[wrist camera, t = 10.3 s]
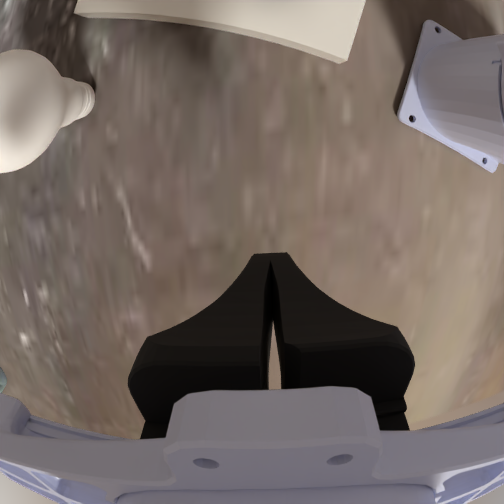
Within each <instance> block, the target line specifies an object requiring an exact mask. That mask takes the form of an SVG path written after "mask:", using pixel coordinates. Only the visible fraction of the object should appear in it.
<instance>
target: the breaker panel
mask: <svg viewBox="0 0 504 504" xmlns="http://www.w3.org/2000/svg"><path fill="white" fill-rule="evenodd" d="M365 1H366V0H78V2H77V4H76V7H75V10H74V13H75V14H78V15H81V16H84V17H87V18H121V19H140V20H153V21H163V22H172V23H180V24H187V25H194V26H200V27H206V28H212V29H217V30H223V31H228V32H232V33H237V34H242V35H246V36H250V37H254V38H258V39H262V40H266V41H270V42H274V43H277V44H281V45H284V46H288V47H291V48H294V49H297V50H301V51H304V52H307V53H310V54H313V55H316V56H319V57H321V58H324V59H327V60H330V61H333V62H335V63H338V64H340V63H342V62H345V61H347V59H348V56H349V53H350V50H351V47H352V44H353V40H354V37H355V34H356V31H357V27H358V24H359V21H360V18H361V14H362V11H363V8H364V4H365Z"/></svg>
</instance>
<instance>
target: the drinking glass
mask: <svg viewBox="0 0 504 504" xmlns="http://www.w3.org/2000/svg"><path fill="white" fill-rule="evenodd" d="M6 383H7V379H6V376H5V374H4V372H3V370H2V369H1V367H0V393H2V391H3V389H4V387H5V385H6Z"/></svg>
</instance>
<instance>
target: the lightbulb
mask: <svg viewBox="0 0 504 504" xmlns="http://www.w3.org/2000/svg"><path fill="white" fill-rule="evenodd" d="M94 103H95V93H94V90H93V88H92V87H91V86H90V85H89V84H87V83H84V82H77V81H75V80H73V79H71V78H67V77H62V76H61V75H60V74H59V72H58V71H57V69H56V68H55V67H54V66H53V64H52V63H51V62H50V61H49V60H48V59H47V58H45V57H44V56H42V55H40V54H38V53H36V52H33V51H31V50H19V49H14V50H10V51H6V52H2V53H0V173H5V172H11V171H15V170H18V169H20V168H23V167H25V166H26V165H28V164H30V163H31V162H33V161H34V160H35V159H36V158H37V157H38V156H40V155H41V154H42V153H43V152H44V151H45V150H46V148H47V147H48V146H49V145H50V143H51V142H52V140H53V139H54V137H55V136H56V134H57V132H58V130H59V129H60V128H61V127H64V126H67V125H69V124H70V123H72V122H73V121H74V120H77V119H80V118H82V117H85V116H86V115H88V114H89V113H90V111H91V110H92V108H93V106H94Z"/></svg>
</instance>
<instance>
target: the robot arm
mask: <svg viewBox="0 0 504 504" xmlns="http://www.w3.org/2000/svg"><path fill="white" fill-rule="evenodd" d="M435 28H437V29H438V31H439V33H437V32H436V31H435ZM410 115H412V116H413V121H412V122H410V121H409V116H410ZM397 117H398V119H399V121H401V122H402V123H404V124H406V125H408V126H410V127H412V128H414V129H416V130H418V131H420V132H422V133H424V134H426V135H428V136H430V137H432V138H434V139H435V140H437V141H439V142H441V143H443V144H445V145H446V146H448V147H450V148H452V149H453V150H455V151H457V152H458V153H460V154H462V155H463V156H465V157H467V158H468V159H470V160H472V161H473V162H475V163H476V164H478V165H480V166H481V167H483V168H484V169H486V170H487V171H489V172H492V173H493V172H495V171H496V169H497V166H498V163H499V162H500V163H502V164H504V34H500V35H492V36H485V37H478V38H472V39H466V40H462V39H461V38H460V37H458V36H457V35H455V34H454V33H452V32H450V31H449V30H447V29H446V28H444V27H443V26H441V25H439V24H438V23H436V22H434V21H433V20H426V21H425V22H424V23H423V27H422V31H421V35H420V39H419V43H418V46H417V50H416V53H415V57H414V61H413V64H412V67H411V71H410V74H409V77H408V81H407V84H406V87H405V90H404V94H403V97H402V100H401V103H400V106H399V109H398V112H397ZM483 158H484V162H482V160H483ZM273 322H274V329H275V336H276V342H277V349H278V355H279V362H280V371H281V389H278V390H269V380H268V373H269V358H270V348H271V337H272V326H273ZM414 367H415V361H414V356H413V354H412V352H411V350H410V347H409V345H408V343H407V342H406V340H405V338H404V337H403V335H402V334H401V332H400V331H399V329H398V327H396V326H393V325H389V324H386V323H383V322H380V321H376V320H373V319H371V318H368V317H366V316H363V315H361V314H359V313H357V312H355V311H352V310H350V309H349V308H347V307H345V306H343V305H341V304H340V303H338V302H336V301H335V300H333V299H332V298H330V297H329V296H328V295H326V294H325V293H324V292H322V291H321V290H320V289H318V288H317V287H316V286H315V285H314V284H313V283H312V282H311V281H310V280H309V279H308V278H307V277H306V276H305V275H304V273H303V272H302V271H301V270H300V269H299V268H298V266H297V265H296V264H295V263H294V261H293V260H292V258H291V257H290V255H289V254H288V253H287V252H285V253H262V254H254V255H253V256H252V257H251V258H250V260H249V262H248V264H247V265H246V267H245V268H244V270H243V271H242V272H241V274H240V275H239V276H238V278H237V279H236V280H235V281H234V282H233V284H232V285H231V286H230V287H229V288H228V289H227V290H226V291H225V292H224V293H223V294H222V295H221V296H220V297H219V298H218V299H217V300H216V301H215V302H213V303H212V304H211V305H209V306H208V307H206V308H205V309H204V310H202V311H201V312H199V313H198V314H196V315H195V316H193V317H191V318H190V319H188V320H186V321H184V322H182V323H180V324H178V325H176V326H174V327H172V328H170V329H167V330H165V331H162V332H159V333H157V334H154V335H152V336H149V337H147V338H146V340H145V342H144V344H143V345H142V347H141V349H140V351H139V353H138V355H137V357H136V360H135V362H134V364H133V367H132V369H131V372H130V374H129V377H128V387H129V390H130V393H131V395H132V397H133V399H134V401H135V403H136V405H137V406H138V408H139V410H140V412H141V414H142V416H143V417H144V419H145V424H144V427H143V431H142V434H141V438H140V439H138V440H133V439H127V438H121V437H116V436H111V435H106V434H101V433H96V432H92V431H87V430H83V429H79V428H75V427H71V426H67V425H64V424H60V423H56V422H53V421H50V420H46V419H43V418H40V417H37V416H34V415H31V414H30V412H29V410H28V409H27V408H26V406H25V405H24V404H23V403H22V402H21V401H19V400H18V399H16V398H14V397H11V396H8V395H6V394H3V393H0V471H1V472H2V473H3V474H4V475H5V476H7V477H8V478H9V479H11V480H13V481H14V482H16V483H18V484H20V485H22V486H24V487H26V488H28V489H30V490H32V491H34V492H36V493H38V494H40V495H42V496H44V497H46V498H48V499H50V500H52V501H55V502H57V503H59V504H467V503H469V502H471V501H473V500H475V499H477V498H479V497H480V496H483V495H485V494H487V493H489V492H490V491H492V490H494V489H496V488H498V487H500V486H501V485H503V484H504V403H503V404H500V405H497V406H494V407H492V408H489V409H486V410H483V411H481V412H478V413H475V414H472V415H469V416H466V417H463V418H459V419H456V420H453V421H449V422H446V423H442V424H439V425H435V426H431V427H428V428H423V429H419V430H415V431H410V430H409V426H408V423H407V420H406V417H405V414H404V412H406V410H407V405H406V402H405V400H404V394H405V392H406V390H407V387H408V385H409V383H410V380H411V378H412V375H413V372H414Z"/></svg>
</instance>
